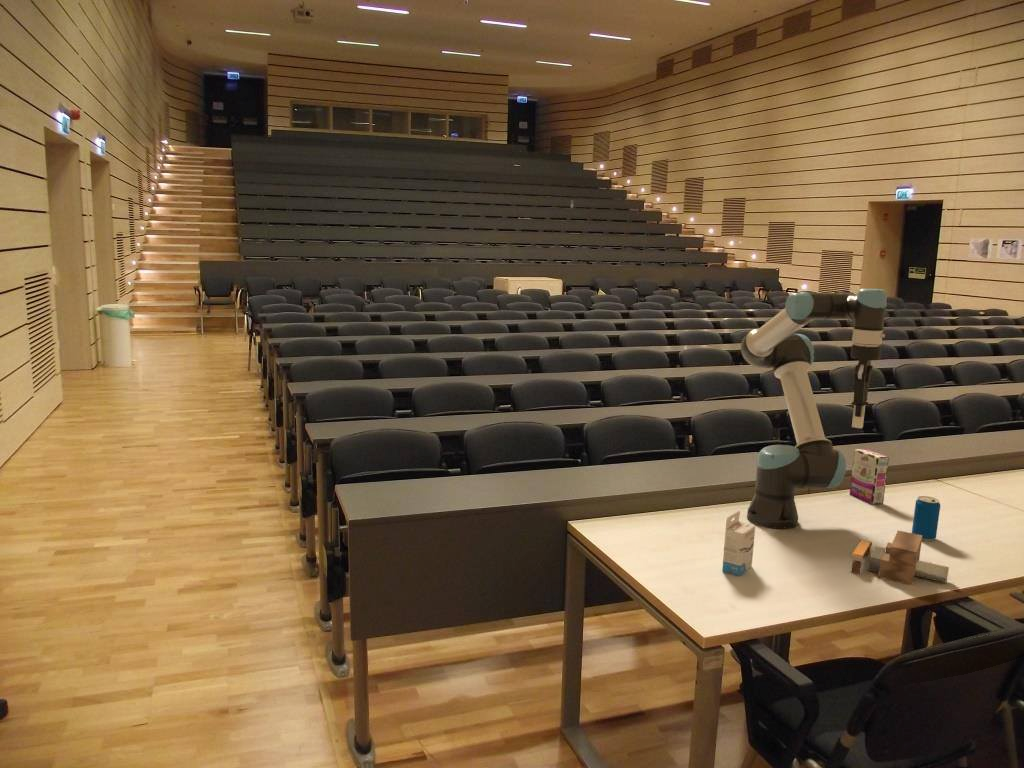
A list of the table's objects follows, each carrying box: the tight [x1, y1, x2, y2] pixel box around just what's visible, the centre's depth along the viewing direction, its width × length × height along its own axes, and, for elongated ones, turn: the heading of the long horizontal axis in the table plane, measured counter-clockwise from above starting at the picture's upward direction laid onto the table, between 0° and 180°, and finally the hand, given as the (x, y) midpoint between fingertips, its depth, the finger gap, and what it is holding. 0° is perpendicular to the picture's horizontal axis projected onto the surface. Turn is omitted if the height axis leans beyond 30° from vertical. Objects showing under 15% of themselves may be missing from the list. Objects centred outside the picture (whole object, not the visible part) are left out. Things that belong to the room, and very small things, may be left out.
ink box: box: [721, 510, 756, 577], centre depth 204 cm, size 8×5×15 cm, turn 141°
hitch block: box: [850, 530, 923, 586], centre depth 208 cm, size 15×16×9 cm
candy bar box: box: [849, 448, 890, 505], centre depth 264 cm, size 11×5×16 cm, turn 17°
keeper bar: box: [851, 539, 873, 559], centre depth 211 cm, size 3×15×1 cm, turn 147°
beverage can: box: [911, 495, 941, 542], centre depth 230 cm, size 6×6×12 cm
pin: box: [868, 545, 950, 583], centre depth 205 cm, size 18×9×4 cm, turn 57°
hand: (857, 427), depth 220 cm, fingers closed
